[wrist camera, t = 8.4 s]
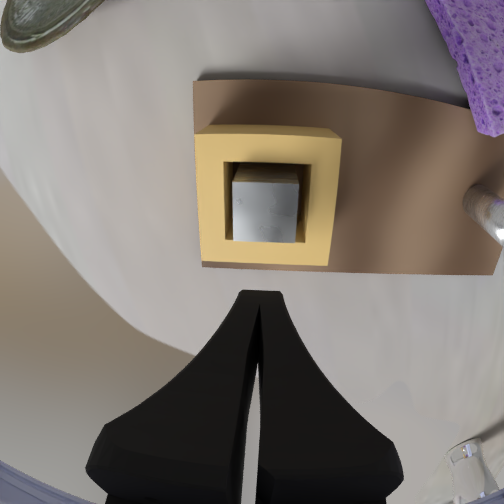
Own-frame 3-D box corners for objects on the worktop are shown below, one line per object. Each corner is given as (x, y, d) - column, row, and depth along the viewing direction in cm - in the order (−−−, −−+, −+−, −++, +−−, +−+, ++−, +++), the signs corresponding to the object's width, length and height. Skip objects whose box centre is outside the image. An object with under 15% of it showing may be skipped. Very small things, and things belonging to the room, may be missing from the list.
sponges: (474, 132, 13) (493, 138, 11) (371, -76, 8) (381, -91, 7) (546, 105, 11) (566, 109, 10) (463, -79, 7) (478, -89, 5)
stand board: (523, 127, 13) (573, 147, 9) (488, 270, 18) (521, 311, 14) (195, 81, 14) (165, 80, 10) (204, 261, 19) (186, 312, 15)
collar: (329, 128, 14) (341, 138, 11) (319, 235, 17) (327, 265, 14) (209, 124, 14) (194, 134, 12) (212, 231, 17) (201, 260, 14)
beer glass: (485, 442, 32) (508, 522, 19) (446, 463, 34) (463, 543, 21) (480, 430, 29) (507, 521, 16) (436, 454, 32) (455, 545, 19)
